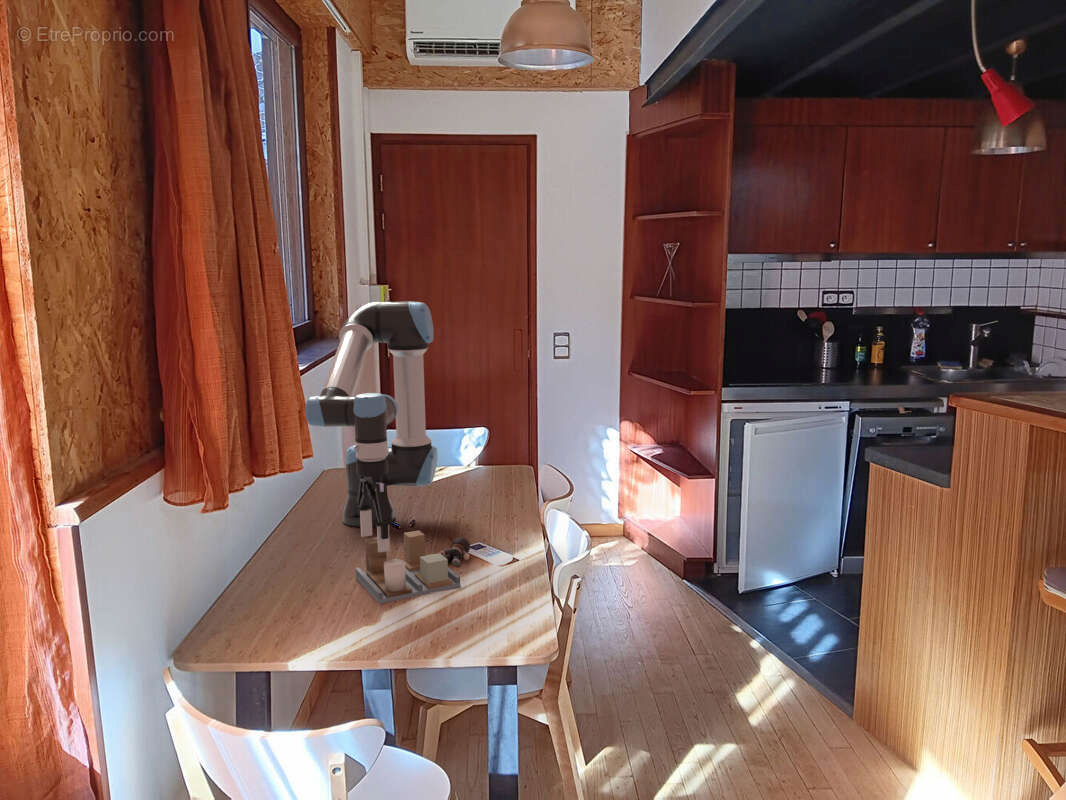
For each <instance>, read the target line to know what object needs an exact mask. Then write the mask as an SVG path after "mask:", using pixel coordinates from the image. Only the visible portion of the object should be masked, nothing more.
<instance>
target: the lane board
mask: <svg viewBox="0 0 1066 800" xmlns="http://www.w3.org/2000/svg"><path fill="white" fill-rule="evenodd" d="M425 539H426V538H425V534H424V533H423V532H422V531H420V530H419V529H418V530H413V531H408V532H403V546H404V547H403V550H404V561H405V574H406V584H407V585H408V586H409V587H410V588H411V589H412V593H408V594H403V595H399V596H394V597H389V598H387V597H386V596H385V595H384V594H383V592H382V591H381V590H380V589H379V588H378V587H377V586H376V585H375V584H374V583H373V582H372V580H371V579H370V578H369V577H368V576H367V575H366V572H367V571H365V572H364V571H363V570H362V568H361V567H355V570H354V572H355V578H356V580H357V581H358V582H359V583H360V585H361V586H363V588H364V589H365V590H366V591H367V593H369V595H370V596H371V597H372V598H373V600H375V602H377V603H378V605H380V604H381V605H382V604H386V603H390V602H396V601H399V600H404V599H410V598H414V597H419V596H424V595H429V594H434V593H439V592H443V591H448V590H453V589H457V588H461V586H462V585H461V576H460V575H459V574H457V573H456V572H455V571H454V570H452V569H451V568H450V567H449V566H448V580H444V581H439V582H434V583H429V584H428V583H427V582H426V581H425V580H424V579H423V578H421V573H420V557H421V556H426V541H425ZM432 554H433V553H430V554H428V555H432Z"/></svg>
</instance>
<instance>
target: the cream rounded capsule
mask: <svg viewBox="0 0 1066 800" xmlns="http://www.w3.org/2000/svg"><path fill="white" fill-rule="evenodd" d="M384 577H385V589H386V590H387V591H393V592H394V591H401V590H403V589H405V588H406V574H405V559H400V558H393V559H391V558H390V559H387V561H385V562H384Z"/></svg>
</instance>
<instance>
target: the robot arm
mask: <svg viewBox="0 0 1066 800" xmlns="http://www.w3.org/2000/svg"><path fill="white" fill-rule="evenodd" d="M432 318H433V317H432V313H431V311H430V308H429V307H428V305H427V304H426V303H425V302H420V301H384V302H383V301H382V302H381V301H374V302H369V303H366V304H364V305H362V306H361V307H359V308H357V309H356V310H354V311H353V312H352V313H351V314H350V315H349V316H348V317H347V318H346V319H345V321H344V322H343V324H342V326H341V328H340V330H339V334H338V338H339V339H338V340H339V344H338V347H337V349H336V351H335V355H334V356H333V361H332V363H331V366H330V368H329V371H328V372H327V373H328V374H327V377H326V378H325V382H324V385H323V387H322V390H321V391H320V392H321V393H320V395H315V396H309V397H308V398H307V400H306V403H305V408H304V414H305V419H306V422H307V423H308V425H310V426H313V427H324V428H327V427H328V428H329V427H335V428H336V427H354V437H355V439H354V440H355V441H354V442H355V444H353V445H350V446H349V447H348V448H347V449H346V453H345V470H346V486H347V490H346V491H347V496H346V499H345V500H346V501H345V504H344V508H343V511H342V522H343V523H344V524H345V525H347V526H352V527H358V528H359V527H360V537H362V538H364V537H368V536H369V537H371V536H373V527H376V529H377V530H376V531H377V532H376V534H377V535H376V537H377V538H378V552H385V551H386V552H390V551H391V541H390V537H391V535H390V525H392V524H393V520H394V519H395V510H394V507H393V504H392V501H391V499H390V497H389V494H388V487H423V486H424V487H425V486H430V485H431V484H432V483H433V481H434V478H435V475H436V471H437V465H438V464H437V463H438V453H439V452H438V448H437V447H436V446H435V445H432V439H431V438H430V437H429V436H427V430H426V427H427V426H426V424H427V423H426V403H425V402H426V400H425V371H424V368H425V367H424V366H425V365H424V354H425V353H426V352H427V350H428V349H429V344H430V343H432V342H433V341H434V335H435V334H434V330H435V329H434V323H433V319H432ZM377 343H380V344H387V351H388V352H390V353H391V354H392V356H393V358H392V360H393V381H394V383H393V384H394V387H393V388H394V397H393V396H391V395H388V394H384V393H383V394H382V393H379V392H378V393H376V392H367V393H360V394H357V395H355V396H352V395H353V392H354V389H355V387H356V383H357V380H358V377H359V375H360V371H361V369H362V366H363V362H364V359H365V357H366V354H367V351H368V350H370V348H372V346H373V344H377ZM394 420H395V432H396V433H395V434H396V436H395V437H394V438H393V439H392V440H391V446H388V437H387V436H388V435H387V433H388V431H387V430H388V429H387V426H388V425H390V424H392V423H393V421H394Z"/></svg>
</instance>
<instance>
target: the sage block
mask: <svg viewBox="0 0 1066 800" xmlns="http://www.w3.org/2000/svg"><path fill="white" fill-rule="evenodd" d="M431 554H432V555H429V554H427V555H425V556H421V557H420V573H421V578H423V579H424V580H425V581H426V582H427V583H428V584H429V583H434V582H439V581H444V580H448V567H449V566H448V565H449V563H448V559H446V558H445V557H444V556H443V555H441V554H440V552H438V553H431Z"/></svg>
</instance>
